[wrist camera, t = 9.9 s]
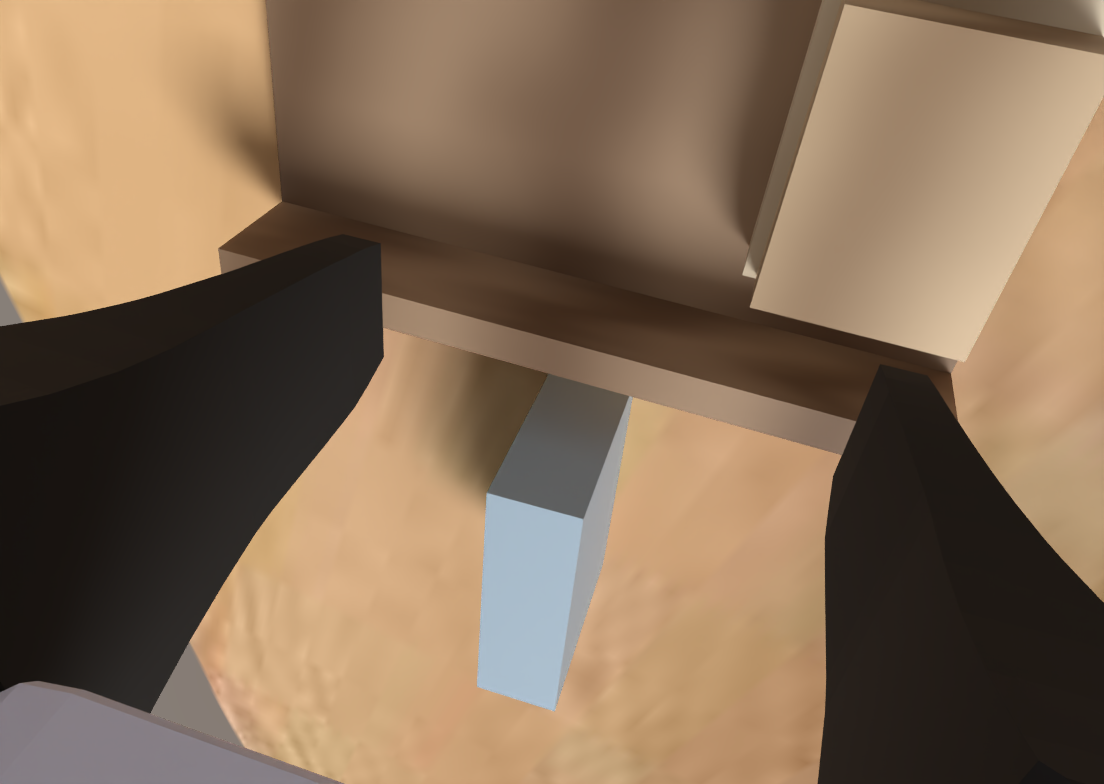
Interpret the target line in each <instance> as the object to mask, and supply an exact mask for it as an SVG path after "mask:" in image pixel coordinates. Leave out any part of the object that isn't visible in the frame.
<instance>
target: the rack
mask: <svg viewBox="0 0 1104 784" xmlns="http://www.w3.org/2000/svg"><path fill="white" fill-rule="evenodd" d="M821 3H822V0H266V9H267V21H268V33H269V46H270V58H271V70H272V82H273V95H274V107H275V119H276V131H277V143H278V156H279V168H280V180H281V192H282V202H281V203H279V204H278V205H277V206H275V207H274V208H272V209H271V210H270V211H268V212H267V213H266V214H264V215H263V216H262V217H260V218H259V219H258V220H256V221H255V222H254V223H252V224H251V225H250V226H248V227H247V228H245V229H244V230H243V231H241V232H240V233H239V234H237V235H236V236H235V237H233V238H232V239H231V240H229V241H228V242H227V243H225V244H224V245H222V246H221V247H220V248H218V251H219V258H220V265H221V273H222V274H224V273H227V272H229V271H232V270H235V269H238V268H241V267H244V266H246V265H249V264H252V263H255V262H258V261H261V260H263V259H266V258H269V257H272V256H275V255H278V254H280V253H283V252H286V251H289V250H292V249H295V248H297V247H300V246H303V245H306V244H309V243H312V242H315V241H319V240H322V239H325V238H329V237H333V236H337V235H341V234H345V235H349V236H353V237H357V238H361V239H366V240H370V241H374V242H378V243H381V272H382V311H383V328H386V329H390V330H393V331H397V332H400V333H404V334H408V335H411V336H415V337H418V338H422V339H426V340H429V341H433V342H436V343H440V344H444V345H447V346H451V347H454V348H458V349H462V350H465V351H469V352H472V353H476V354H480V355H483V356H487V357H490V358H494V359H498V360H501V361H505V362H508V363H512V364H516V365H519V366H523V367H526V368H530V369H534V370H537V371H541V372H544V373H548V374H552V375H555V376H559V377H563V378H566V379H570V380H573V381H577V382H581V383H584V384H588V385H591V386H595V387H599V388H602V389H606V390H609V391H613V392H617V393H620V394H624V395H627V396H631V397H635V398H638V399H642V400H645V401H649V402H653V403H656V404H660V405H663V406H667V407H671V408H674V409H678V410H681V411H685V412H689V413H692V414H696V415H699V416H703V417H707V418H710V419H714V420H717V421H721V422H725V423H728V424H732V425H735V426H739V427H743V428H746V429H750V430H754V431H757V432H761V433H764V434H768V435H772V436H775V437H779V438H782V439H786V440H790V441H793V442H797V443H800V444H804V445H808V446H811V447H815V448H818V449H822V450H826V451H829V452H833V453H836V454H840V455H842V454H843V452H844V449H845V447H846V444H847V442H848V440H849V437H850V435H851V433H852V430H853V428H854V425H855V423H856V421H857V418H858V416H859V413H860V411H861V409H862V406H863V404H864V401H865V399H866V397H867V394H868V392H869V389H870V387H871V385H872V382H873V380H874V377H875V375H876V373H877V370H878V368H879V365H880V364H882V365H886V366H891V367H895V368H899V369H903V370H907V371H911V372H915V373H920V374H924V375H928V377H929V378H930V380H931V381H932V382H933V384H934V385H935V387H936V388H937V390H938V391H939V393H940V395H941V396H942V398H943V399H944V401H945V402H946V404H947V405H948V407H949V409H950V410H951V412H952V413H953V415H954V416H955V418H956V419H957V412H956V406H955V399H954V392H953V385H952V378H951V372H952V370H953V368H954V367H955V365H956V363H957V361H958V360H954V359H950V358H946V357H942V356H938V355H934V354H930V353H926V352H922V351H919V350H915V349H911V348H907V347H903V346H899V345H895V344H891V343H887V342H883V341H879V340H875V339H872V338H868V337H864V336H860V335H856V334H852V333H848V332H844V331H840V330H836V329H832V328H828V327H825V326H821V325H817V324H813V323H809V322H805V321H801V320H797V319H793V318H789V317H785V316H781V315H777V314H774V313H770V312H766V311H762V310H758V309H754V308H750V304H751V299H752V294H753V289H754V285H755V280H756V279H755V278H751V277H747V276H743V275H742V274H743V270H744V266H745V261H746V257H747V253H748V249H749V245H750V242H751V238H752V235H753V232H754V228H755V225H756V221H757V218H758V215H759V211H760V208H761V205H762V201H763V198H764V194H765V191H766V188H767V184H768V181H769V178H770V174H771V171H772V168H773V164H774V161H775V157H776V154H777V151H778V147H779V144H780V141H781V137H782V134H783V131H784V127H785V124H786V120H787V117H788V114H789V110H790V107H791V104H792V100H793V97H794V93H795V90H796V87H797V83H798V80H799V77H800V73H801V70H802V67H803V63H804V60H805V56H806V53H807V50H808V46H809V43H810V40H811V36H812V33H813V30H814V26H815V23H816V19H817V16H818V13H819V9H820V6H821ZM957 421H958V419H957Z"/></svg>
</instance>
